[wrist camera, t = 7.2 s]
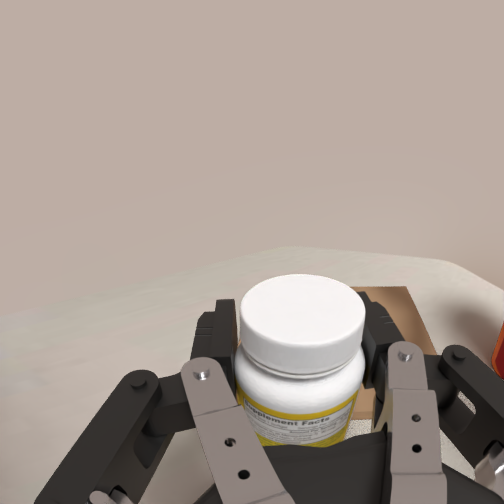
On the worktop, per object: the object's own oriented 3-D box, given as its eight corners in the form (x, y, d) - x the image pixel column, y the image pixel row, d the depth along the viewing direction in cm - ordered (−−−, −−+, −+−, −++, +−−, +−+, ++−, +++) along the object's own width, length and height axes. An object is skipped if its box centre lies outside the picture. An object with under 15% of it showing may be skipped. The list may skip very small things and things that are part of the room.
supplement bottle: (274, 397, 16) (274, 258, 13) (354, 425, 14) (391, 284, 10) (223, 459, 13) (196, 319, 9) (314, 500, 10) (352, 374, 7)
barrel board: (221, 413, 22) (216, 393, 21) (256, 292, 38) (255, 274, 37) (450, 410, 19) (461, 389, 18) (404, 293, 35) (407, 275, 34)
